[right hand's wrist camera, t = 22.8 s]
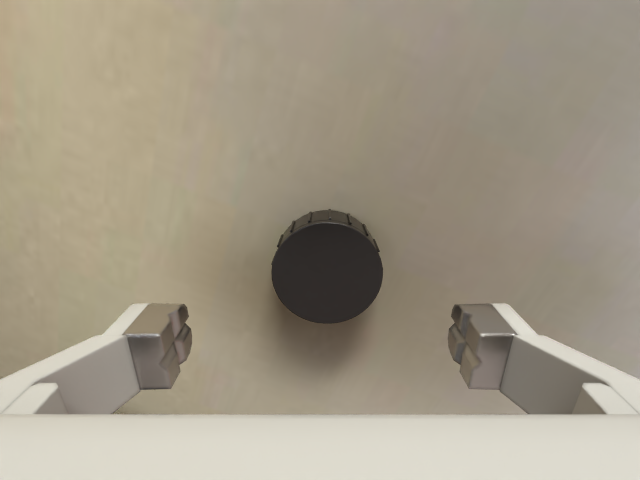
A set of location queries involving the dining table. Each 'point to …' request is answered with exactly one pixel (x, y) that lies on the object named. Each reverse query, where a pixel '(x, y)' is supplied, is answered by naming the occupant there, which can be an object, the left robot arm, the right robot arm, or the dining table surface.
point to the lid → (327, 267)
